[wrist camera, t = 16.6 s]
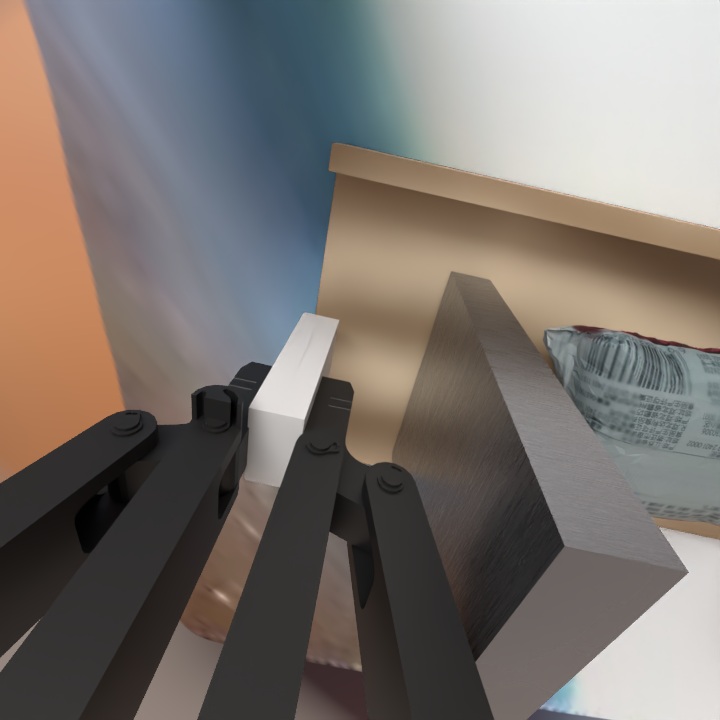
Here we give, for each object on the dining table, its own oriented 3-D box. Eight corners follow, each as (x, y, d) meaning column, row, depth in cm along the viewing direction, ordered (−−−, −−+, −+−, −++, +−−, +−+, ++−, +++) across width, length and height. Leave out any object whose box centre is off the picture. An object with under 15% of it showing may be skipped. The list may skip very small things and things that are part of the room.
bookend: (451, 270, 15) (564, 545, 5) (489, 279, 15) (688, 572, 5) (392, 452, 20) (383, 781, 10) (421, 458, 20) (444, 793, 10)
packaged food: (704, 488, 19) (794, 584, 15) (476, 456, 19) (501, 542, 15) (826, 336, 15) (998, 408, 11) (535, 295, 15) (593, 350, 11)
